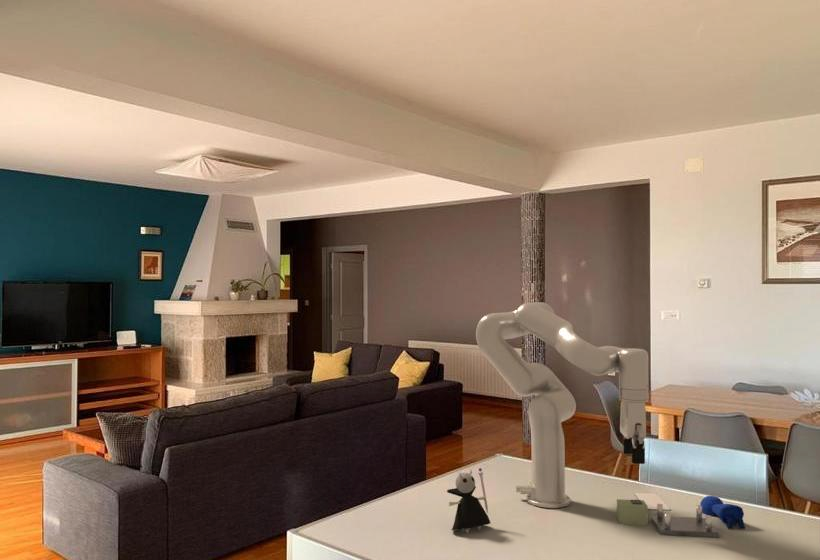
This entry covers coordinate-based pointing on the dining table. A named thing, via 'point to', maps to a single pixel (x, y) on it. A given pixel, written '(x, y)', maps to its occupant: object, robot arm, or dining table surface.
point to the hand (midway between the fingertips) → (633, 458)
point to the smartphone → (652, 500)
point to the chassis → (684, 524)
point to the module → (632, 512)
